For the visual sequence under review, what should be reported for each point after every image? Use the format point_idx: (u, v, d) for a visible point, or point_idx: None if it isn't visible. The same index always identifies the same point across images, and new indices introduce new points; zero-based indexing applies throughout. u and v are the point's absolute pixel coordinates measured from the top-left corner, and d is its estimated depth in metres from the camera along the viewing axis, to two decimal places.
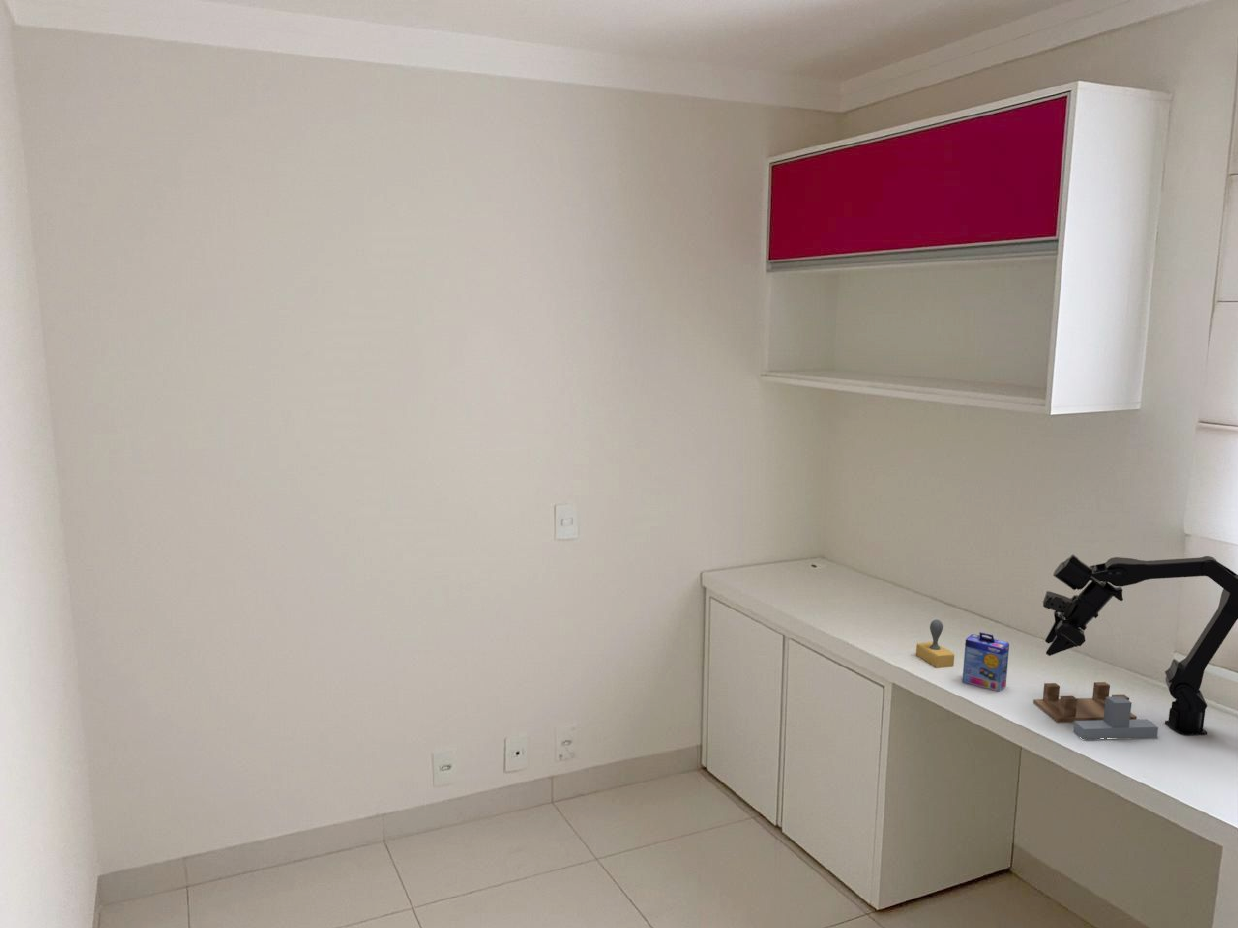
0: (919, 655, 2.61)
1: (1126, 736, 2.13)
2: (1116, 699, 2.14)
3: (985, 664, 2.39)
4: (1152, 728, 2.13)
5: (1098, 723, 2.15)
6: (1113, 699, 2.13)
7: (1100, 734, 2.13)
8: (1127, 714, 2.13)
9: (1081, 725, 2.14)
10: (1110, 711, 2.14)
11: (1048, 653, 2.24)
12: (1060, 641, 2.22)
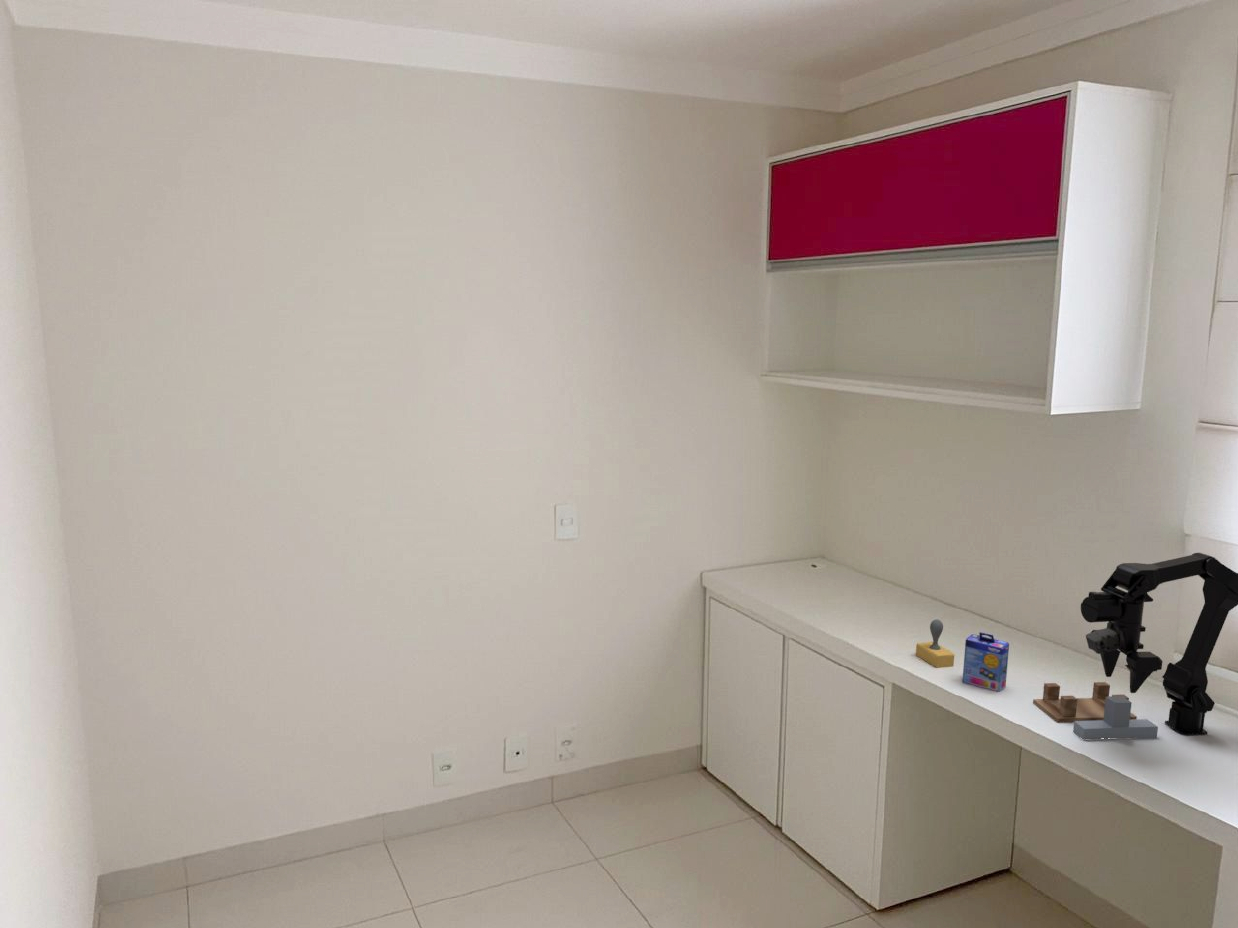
0: (919, 655, 2.61)
1: (1126, 736, 2.13)
2: (1116, 698, 2.14)
3: (985, 664, 2.39)
4: (1152, 728, 2.13)
5: (1098, 723, 2.15)
6: (1113, 699, 2.13)
7: (1100, 734, 2.13)
8: (1127, 714, 2.13)
9: (1081, 725, 2.14)
10: (1110, 711, 2.14)
11: (1133, 691, 2.08)
12: (1137, 675, 2.07)
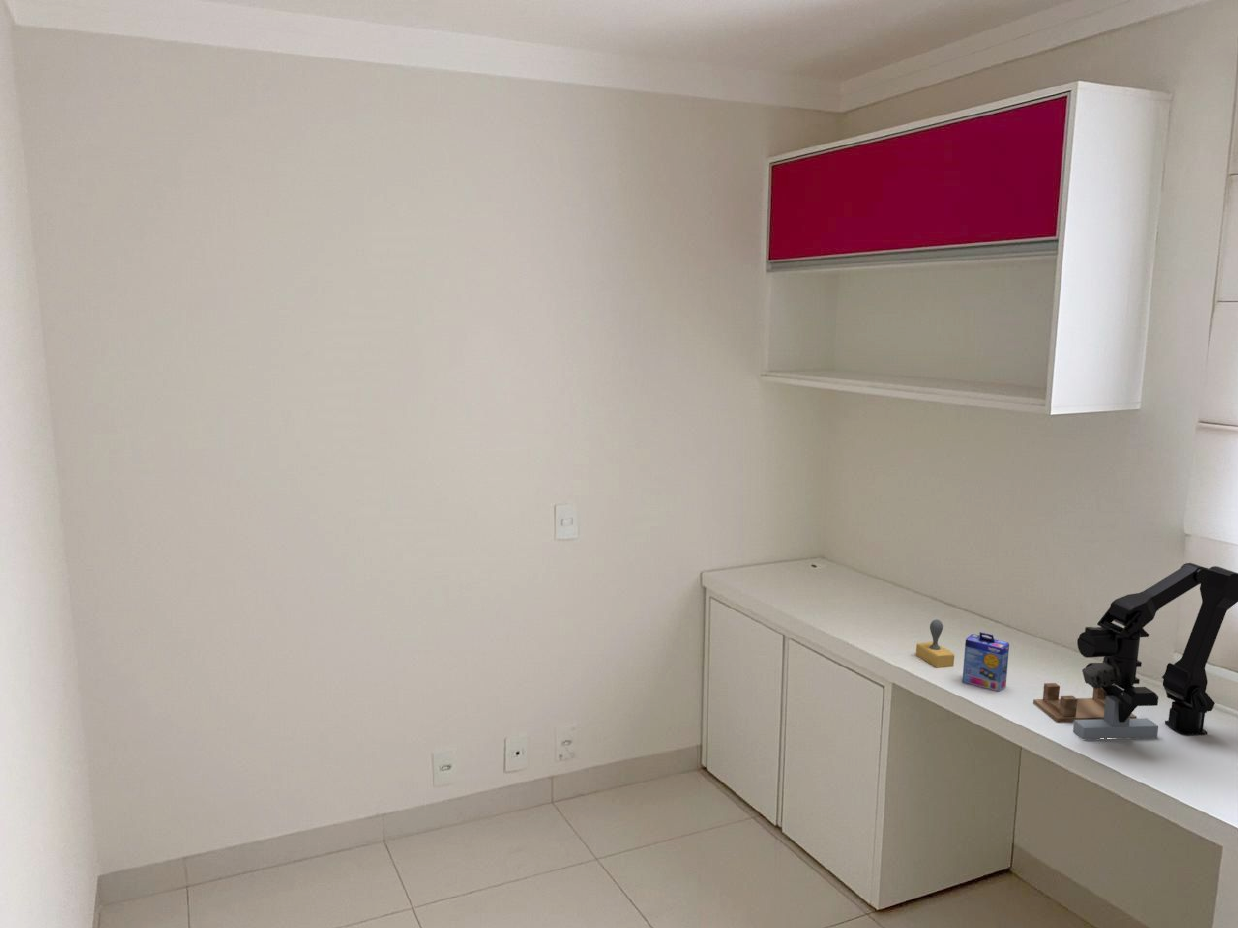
0: (919, 655, 2.61)
1: (1126, 735, 2.13)
2: None
3: (985, 664, 2.39)
4: (1152, 727, 2.13)
5: (1098, 722, 2.15)
6: (1113, 698, 2.13)
7: (1100, 733, 2.13)
8: None
9: (1081, 724, 2.14)
10: (1110, 710, 2.14)
11: (1122, 720, 2.12)
12: (1126, 705, 2.11)
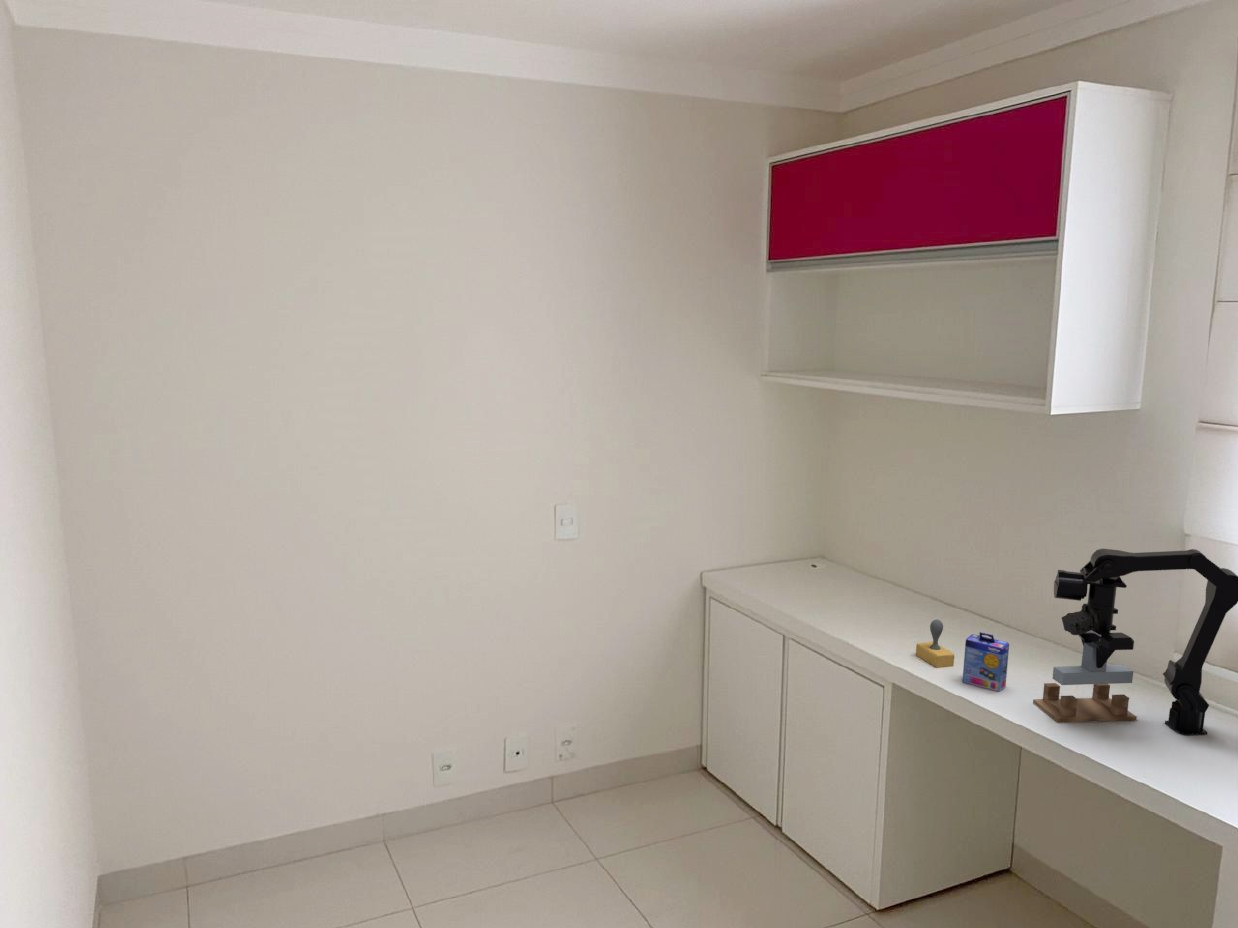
0: (919, 655, 2.61)
1: (1103, 680, 2.22)
2: None
3: (985, 664, 2.39)
4: (1128, 672, 2.22)
5: (1076, 668, 2.23)
6: (1091, 645, 2.22)
7: (1078, 678, 2.21)
8: None
9: (1060, 670, 2.22)
10: (1088, 656, 2.22)
11: (1099, 666, 2.21)
12: (1103, 650, 2.19)
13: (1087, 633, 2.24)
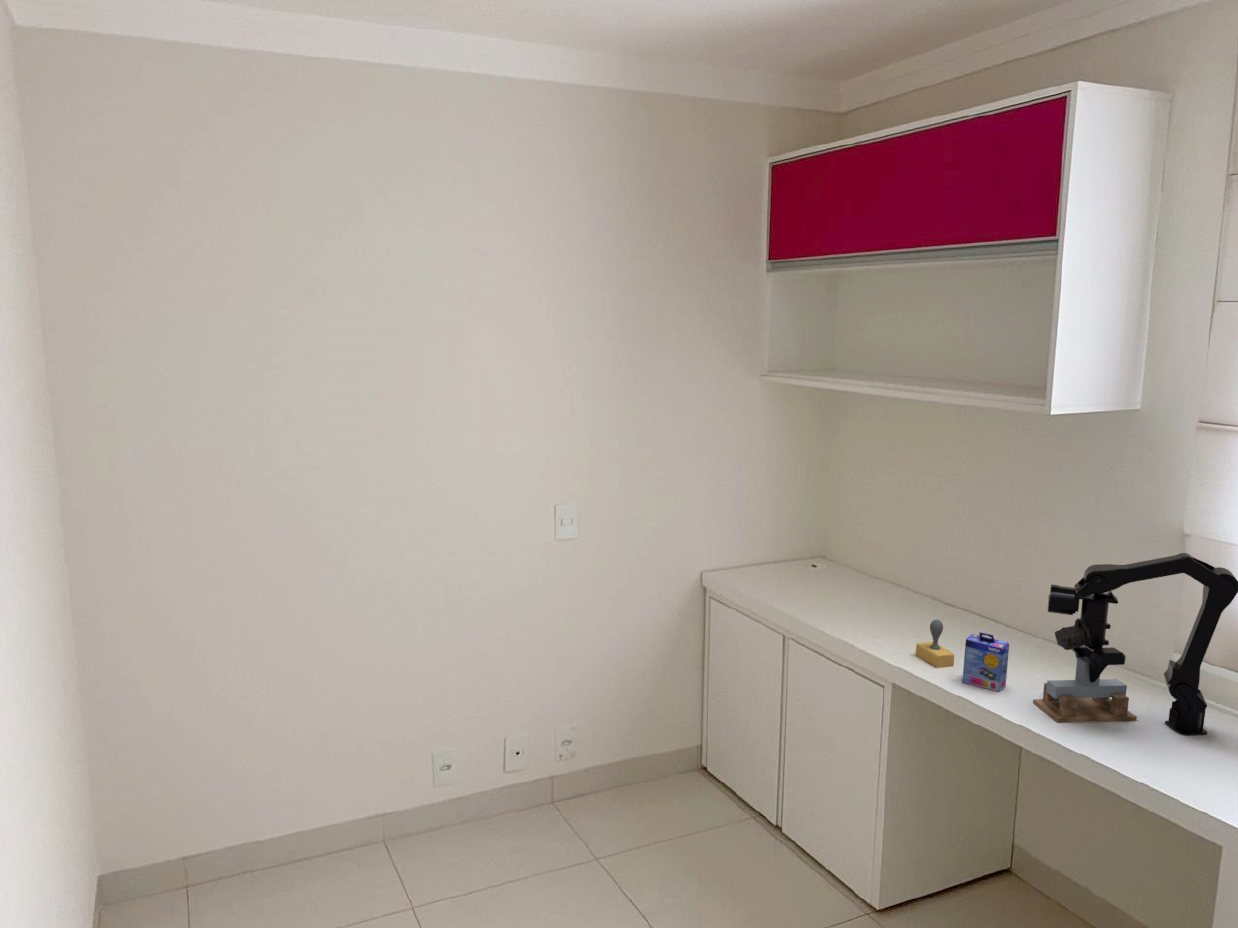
0: (919, 655, 2.61)
1: (1096, 694, 2.25)
2: None
3: (985, 664, 2.39)
4: (1121, 686, 2.25)
5: (1070, 682, 2.26)
6: (1084, 659, 2.25)
7: (1071, 692, 2.24)
8: None
9: (1053, 684, 2.25)
10: (1081, 671, 2.25)
11: (1092, 680, 2.24)
12: (1096, 665, 2.22)
13: (1081, 648, 2.27)
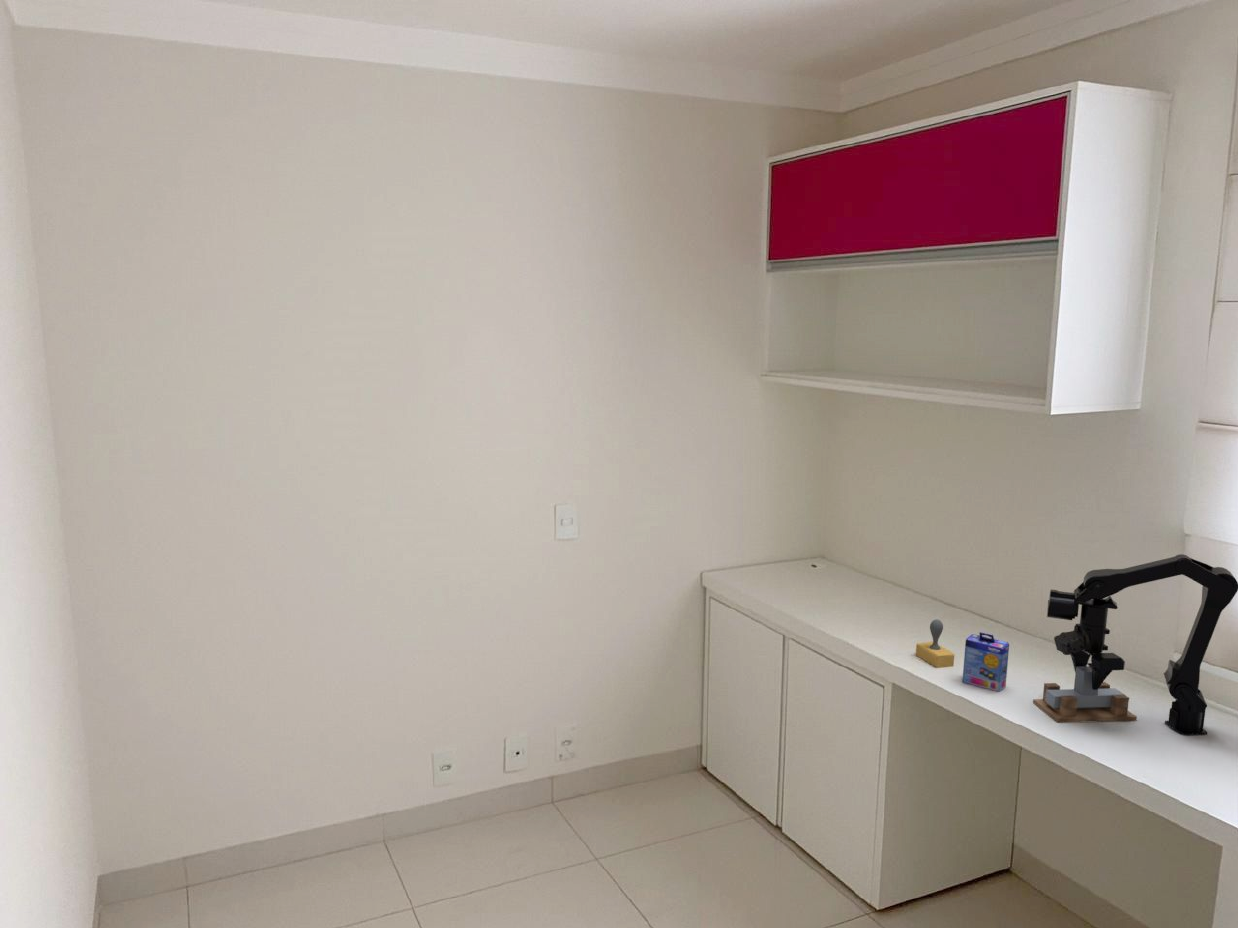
0: (919, 655, 2.61)
1: (1095, 704, 2.25)
2: (1086, 668, 2.26)
3: (985, 664, 2.39)
4: None
5: (1069, 691, 2.27)
6: (1083, 669, 2.25)
7: None
8: None
9: (1052, 693, 2.26)
10: (1080, 680, 2.25)
11: (1095, 687, 2.23)
12: (1099, 672, 2.21)
13: None
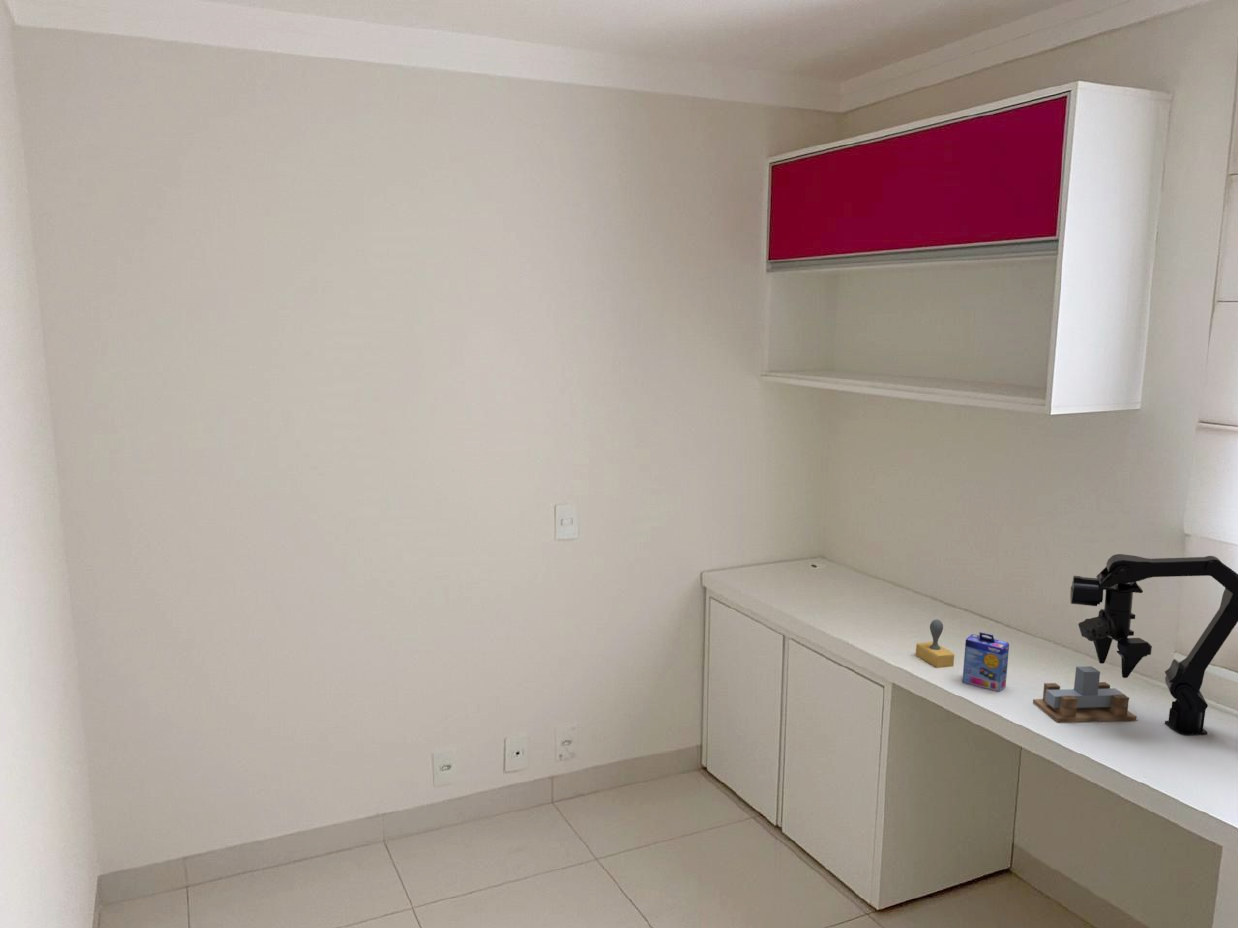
0: (919, 655, 2.61)
1: (1095, 704, 2.25)
2: (1086, 668, 2.26)
3: (985, 664, 2.39)
4: None
5: (1069, 691, 2.27)
6: (1083, 669, 2.25)
7: None
8: (1096, 683, 2.24)
9: (1052, 693, 2.26)
10: (1080, 680, 2.25)
11: (1125, 676, 2.18)
12: (1128, 660, 2.16)
13: None
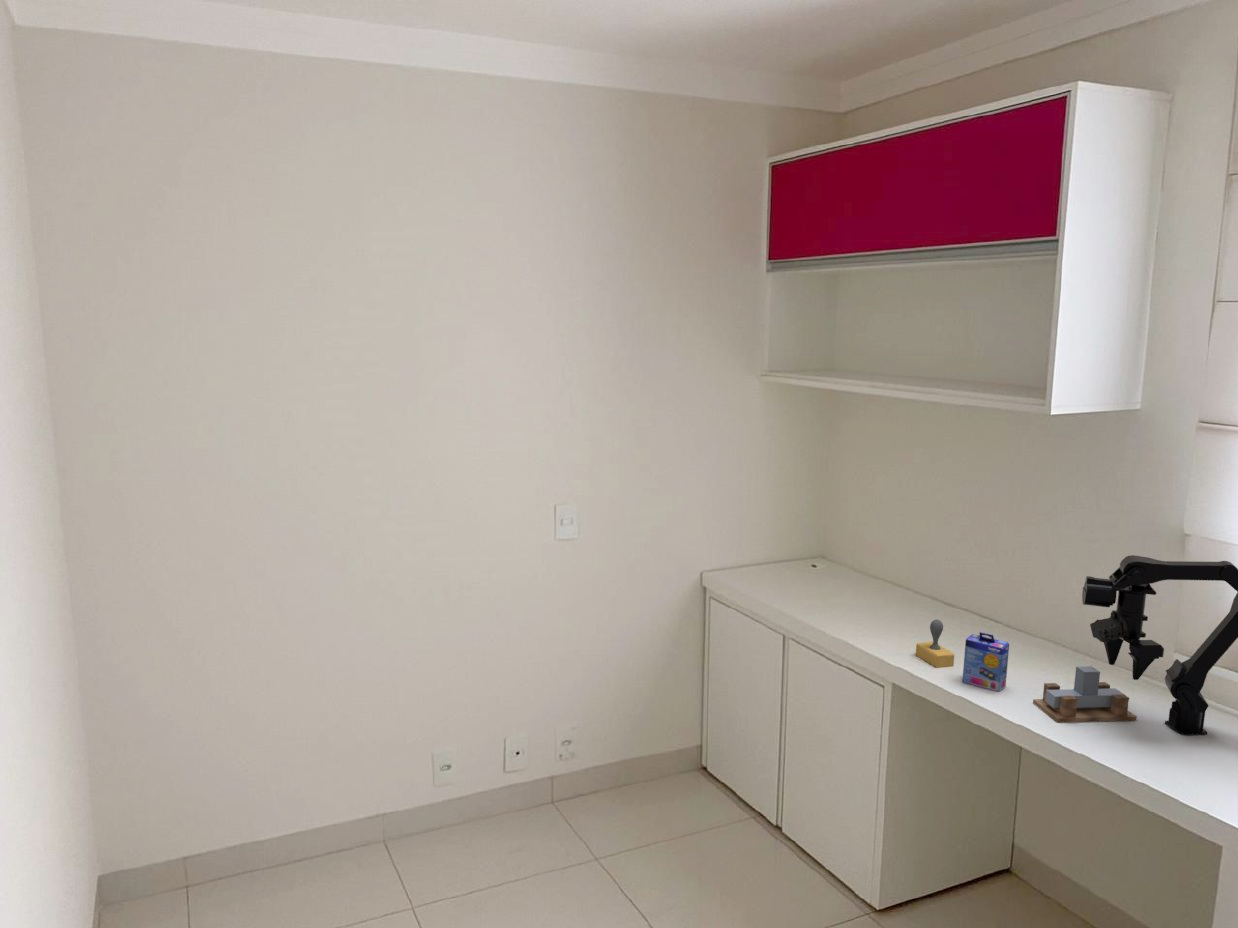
0: (919, 655, 2.61)
1: (1095, 704, 2.25)
2: (1086, 668, 2.26)
3: (985, 664, 2.39)
4: None
5: (1069, 691, 2.27)
6: (1083, 669, 2.25)
7: None
8: (1096, 683, 2.24)
9: (1052, 693, 2.26)
10: (1080, 680, 2.25)
11: (1136, 677, 2.17)
12: (1140, 662, 2.15)
13: None
